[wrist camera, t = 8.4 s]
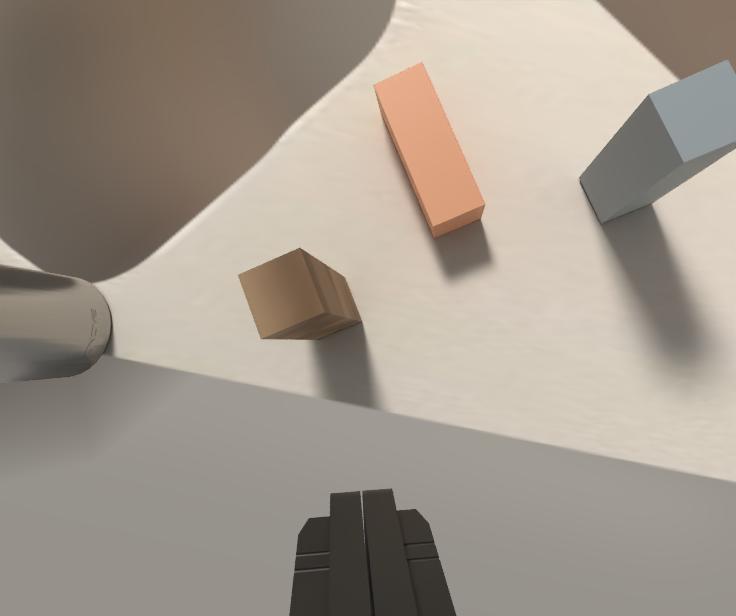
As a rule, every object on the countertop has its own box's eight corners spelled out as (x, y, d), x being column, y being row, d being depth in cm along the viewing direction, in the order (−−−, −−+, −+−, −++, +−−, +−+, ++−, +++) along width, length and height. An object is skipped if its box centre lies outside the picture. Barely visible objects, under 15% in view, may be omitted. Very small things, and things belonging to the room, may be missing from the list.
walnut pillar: (318, 339, 37) (260, 339, 26) (301, 295, 38) (238, 274, 26) (362, 321, 37) (324, 312, 25) (344, 277, 37) (299, 247, 26)
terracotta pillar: (433, 226, 33) (373, 84, 34) (434, 238, 37) (380, 111, 38) (485, 204, 32) (422, 61, 34) (480, 219, 36) (424, 90, 38)
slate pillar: (601, 223, 34) (683, 162, 23) (578, 177, 35) (648, 94, 23) (653, 202, 34) (765, 128, 22) (629, 156, 34) (727, 59, 23)
